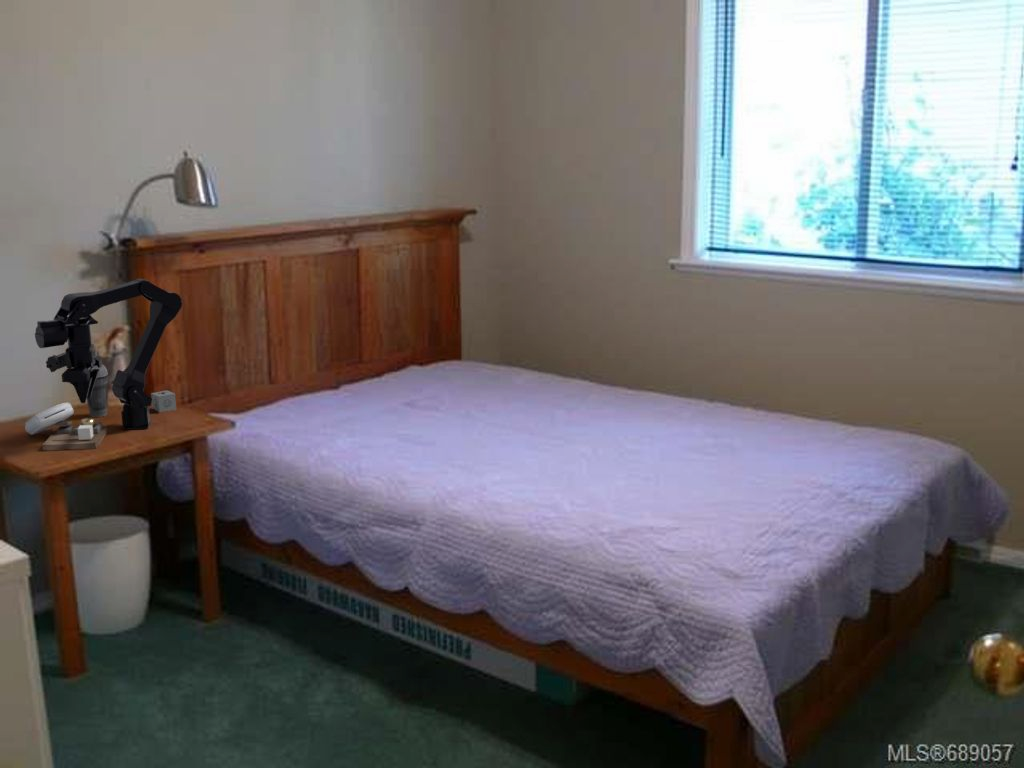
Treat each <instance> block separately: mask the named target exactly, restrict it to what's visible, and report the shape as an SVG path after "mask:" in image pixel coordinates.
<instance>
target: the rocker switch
mask: <svg viewBox="0 0 1024 768" xmlns="http://www.w3.org/2000/svg"><path fill="white" fill-rule="evenodd" d="M72 424H73V421H72V420H70V421H69V420H67V421H66V420H64V421H63V422H57V425H56V426H57V427H58V426H59V427H60V426H72Z"/></svg>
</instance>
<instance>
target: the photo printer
mask: <svg viewBox="0 0 1024 768" xmlns="http://www.w3.org/2000/svg"><path fill="white" fill-rule="evenodd" d="M74 412H75V411H74V408H73V406H72V405H71V403H70V402H68V401H67V402H66V401H65V402H62V403H59V404H57V405H53V406H51V407H49V408H46V409H44V410H42V411H40V412H38V413H36V414H35V415H34V416H32V417H31V418H30V419H28V420H27V421H26V422H25V423H24V428H25V432H26V433H28V434H30V435H31V436H33V435H37V434H39V433H42V432H44V431H46V430H49V429H51V428H53V427H55V426H57V422H63V421H66V420H67V419H68V418H70V417H72V415H73V416H74Z"/></svg>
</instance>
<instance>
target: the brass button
mask: <svg viewBox="0 0 1024 768" xmlns="http://www.w3.org/2000/svg"><path fill="white" fill-rule="evenodd" d="M94 422H95V418H94V417H85V418H81V420H80V423H82V425H92V427H95V423H94Z"/></svg>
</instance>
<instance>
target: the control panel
mask: <svg viewBox="0 0 1024 768" xmlns="http://www.w3.org/2000/svg"><path fill="white" fill-rule="evenodd" d="M94 423H95V427H93V437H92V438H91V439H86V440H79V438H78V428H79V426H80V425H82V423H81V422H79V423H78V424H77V425H76V426H74V425H63V426H59V427H58V428H57V429H55V430H54V432H52V433H51V435H50V436H49V437H48V438H47V439H46V441H45V442H43V444H42V446H41V447H42V451H43V450H47V451H65V450H64V449H70V450H90V449H91V450H92V449H93V450H94V449H97V447H98V446H99V445H100V444H101V442H102V441H103V439H104V438H105V437H104V436H106V435H108V427H107V426H106V427H104V425H103V422H101V421H100V422H99V421H98V422H97V421H96V422H95V421H94Z"/></svg>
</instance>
